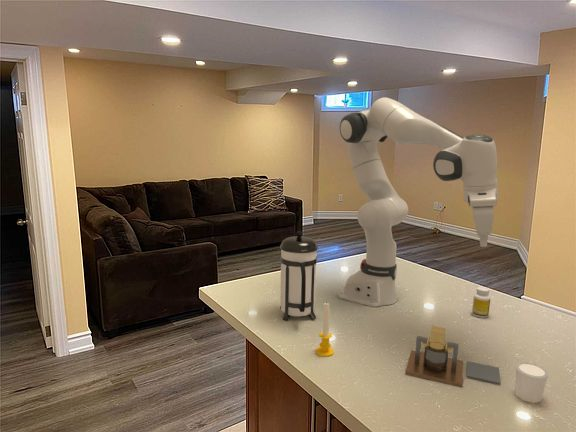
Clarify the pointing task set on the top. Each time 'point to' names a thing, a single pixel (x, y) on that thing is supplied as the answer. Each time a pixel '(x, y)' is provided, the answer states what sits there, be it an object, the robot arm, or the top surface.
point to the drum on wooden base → (435, 364)
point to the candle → (325, 335)
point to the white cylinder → (530, 382)
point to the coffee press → (298, 276)
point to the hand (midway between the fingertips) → (482, 240)
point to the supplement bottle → (481, 303)
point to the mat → (483, 373)
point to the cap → (437, 340)
